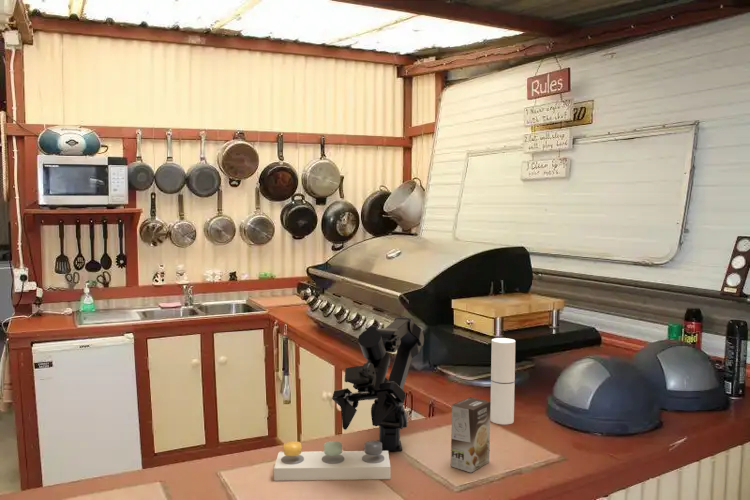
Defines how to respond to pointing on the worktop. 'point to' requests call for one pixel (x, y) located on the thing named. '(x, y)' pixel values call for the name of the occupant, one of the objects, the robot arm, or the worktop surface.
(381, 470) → the button panel
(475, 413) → the coffee box
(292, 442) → the button amber
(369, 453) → the button charcoal
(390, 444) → the robot arm
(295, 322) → the worktop surface
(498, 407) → the cylindrical container
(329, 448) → the button sage
